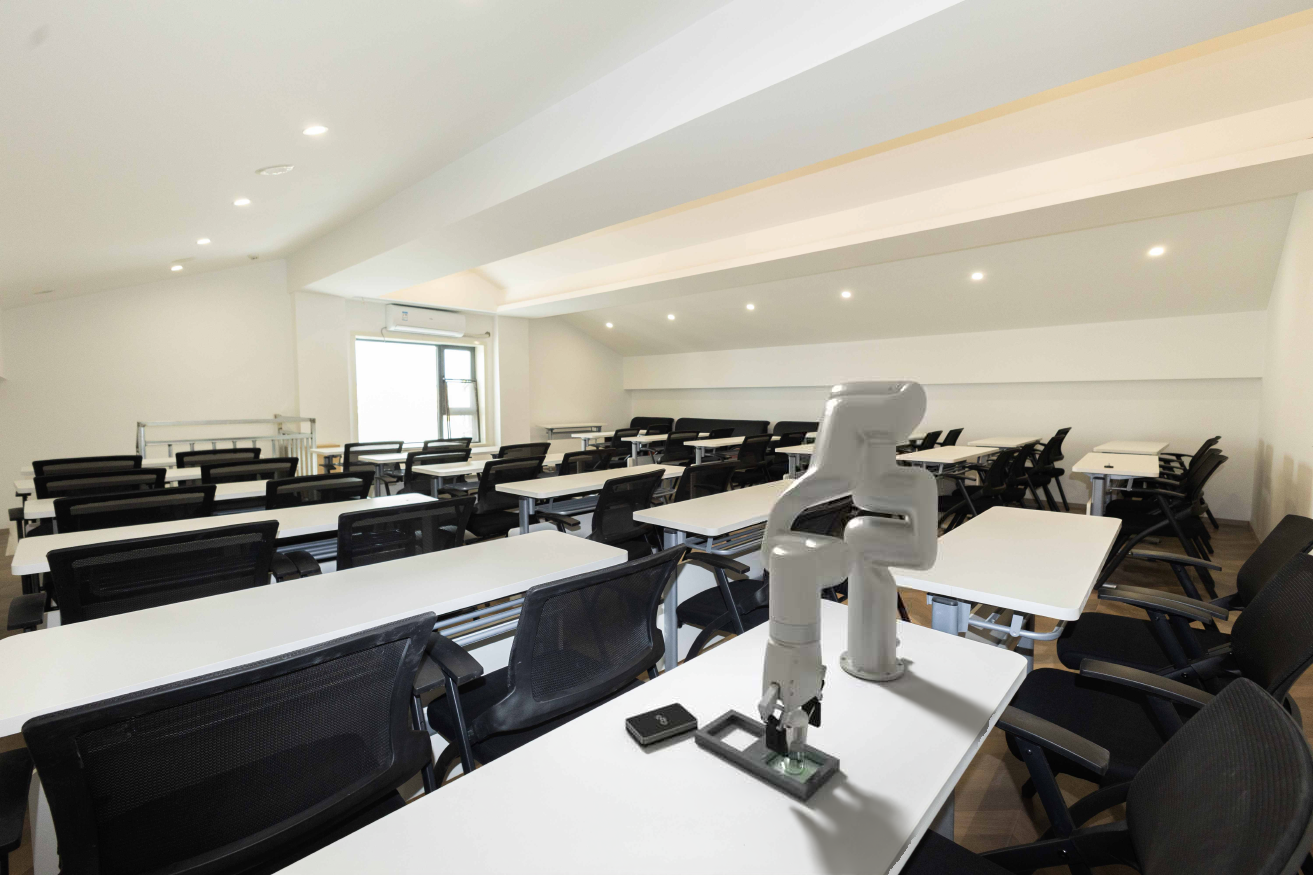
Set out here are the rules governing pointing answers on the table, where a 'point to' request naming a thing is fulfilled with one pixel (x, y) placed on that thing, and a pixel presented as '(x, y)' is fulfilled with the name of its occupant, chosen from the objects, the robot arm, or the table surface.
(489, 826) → the table surface
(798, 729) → the milkshake
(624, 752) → the table surface
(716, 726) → the two-slot gray tray
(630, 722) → the external hard drive
